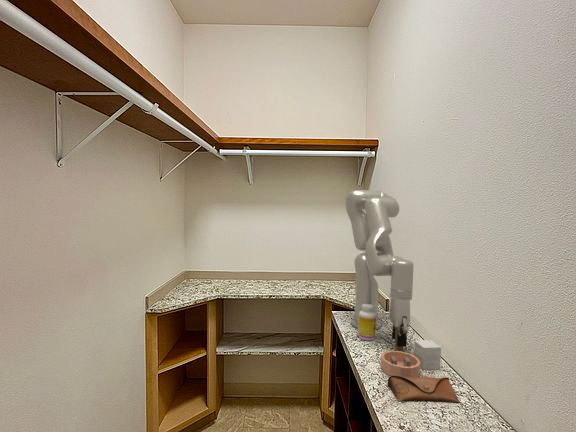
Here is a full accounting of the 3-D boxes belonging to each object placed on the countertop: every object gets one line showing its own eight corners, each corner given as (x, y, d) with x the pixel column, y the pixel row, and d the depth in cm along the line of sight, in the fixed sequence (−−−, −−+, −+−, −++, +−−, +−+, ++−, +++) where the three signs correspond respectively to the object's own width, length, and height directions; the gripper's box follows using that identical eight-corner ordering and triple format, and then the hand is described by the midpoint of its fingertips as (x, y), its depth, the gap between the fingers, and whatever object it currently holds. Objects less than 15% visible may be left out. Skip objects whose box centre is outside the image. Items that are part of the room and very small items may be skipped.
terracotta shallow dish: (377, 360, 112) (377, 349, 112) (412, 362, 111) (413, 351, 111) (385, 378, 100) (386, 366, 100) (425, 380, 99) (425, 368, 99)
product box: (412, 361, 112) (413, 340, 112) (429, 360, 113) (430, 339, 113) (423, 370, 106) (424, 347, 106) (440, 369, 107) (441, 347, 107)
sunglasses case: (397, 402, 88) (394, 374, 91) (389, 402, 94) (386, 376, 97) (464, 403, 88) (458, 376, 92) (451, 403, 94) (446, 377, 98)
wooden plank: (394, 346, 123) (395, 320, 123) (399, 346, 123) (401, 320, 123) (397, 351, 119) (398, 323, 119) (403, 351, 119) (404, 324, 119)
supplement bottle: (375, 342, 127) (377, 308, 127) (358, 340, 128) (359, 307, 128) (374, 335, 133) (376, 303, 133) (358, 333, 135) (359, 302, 134)
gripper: (385, 287, 129) (383, 333, 130) (397, 299, 112) (394, 352, 113) (404, 288, 129) (402, 334, 130) (419, 301, 112) (417, 353, 112)
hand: (399, 342), depth 121 cm, fingers open, 5 cm apart
